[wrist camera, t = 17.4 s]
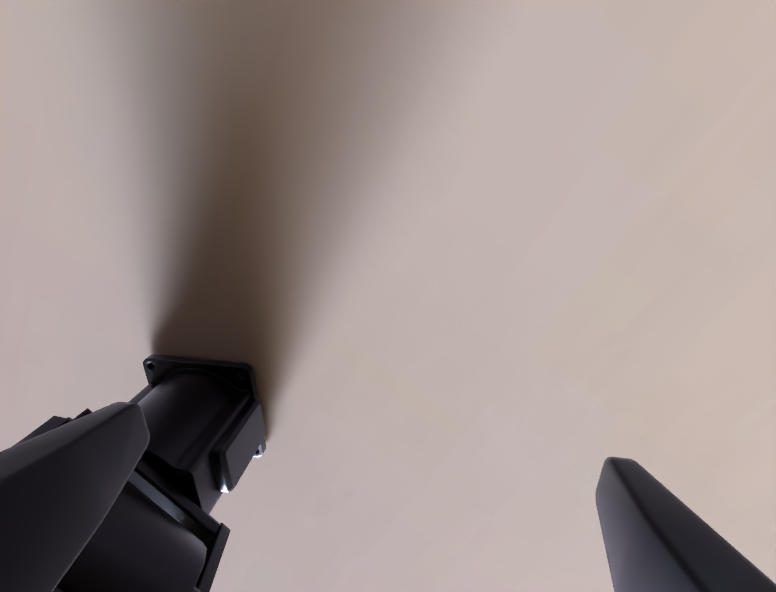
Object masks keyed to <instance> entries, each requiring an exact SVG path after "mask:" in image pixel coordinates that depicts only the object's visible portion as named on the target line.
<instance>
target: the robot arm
mask: <svg viewBox="0 0 776 592" xmlns="http://www.w3.org/2000/svg"><path fill="white" fill-rule="evenodd" d="M143 366H144V369H145V373H146V376H147V380H148V383H149V385H148V386H147V387H146V388H144V389H143V390H142V391H141V392H140V393H139V394H138V395H136V396H135V397H134V398H133V399H132V400H131V401H129V402H128V403H127V402H117V403H114V404H111V405H109V406H107V407H104V408H102V409H100V410H97V411H95V412H92V411H90V410H89V409H88V408H87V409H86V410H85V411H83V412H82V413H81V414H79V415H78V416H77V417H76V418H74V419H71V418H69V417H68V418H62V417H57V416H53V417H52V418H51V419H49V420H48V421H47V422H45V423H44V424H43V425H41V426H40V427H39V428H37V429H36V430H35V431H33V432H32V433H31V434H29V435H28V436H26V437H25V438H24V439H22V440H21V441H19V442H18V443H17V444H15V445H14V446H12V447H11V448H9V449H6V450H4V451H2V452H0V592H209V591H210V588H211V585H212V583H213V580H214V577H215V574H216V571H217V568H218V565H219V562H220V559H221V556H222V553H223V551H224V548H225V545H226V542H227V539H228V536H229V533H230V529H229V528H228V527H226V526H225V525H224V524H223V523H220V524H219V523H218V522H217V521H216V520H215V519H214V518H212V517H211V516H210V515H209V514H210V512H211V510H212V509H213V507H214V506H215V504H216V502H217V501H218V499H219V498H220V496H221V494H222V493H223V492H230V491H231V490H233V489H234V487H235V486H236V484H237V482H238V481H239V479H240V477H241V476H242V474H243V472H244V471H245V469H246V467H247V466H248V464H249V462H250V461H251V459H252V457H260V456H262V454H263V453H264V451H265V449H266V444H265V438H264V437H265V435H266V432H265V426H264V420H263V413H262V407H261V402H260V401H259V399H258V394H257V388H256V382H255V376H254V371H253V368H252V367H251V366H250V365H248V364H246V363H238V362H227V361H216V360H205V359H194V358H183V357H172V356H161V355H150V356H149V357H148V358H146V359H145V360H144V362H143ZM242 371H243V372H245V373H246V374H243V373H242ZM596 505H597V510H598V515H599V520H600V525H601V529H602V534H603V539H604V544H605V549H606V553H607V558H608V563H609V568H610V573H611V577H612V582H613V587H614V591H615V592H776V584H775V583H774V582H773V581H772V580H770V579H769V578H768V577H767V576H766V575H765V574H764V573H762V572H761V571H760V570H759V569H758V568H757V567H756V566H754V565H753V564H752V563H751V562H750V561H749V560H748V559H746V558H745V557H744V556H743V555H742V554H741V553H740V552H738V551H737V550H736V549H735V548H734V547H733V546H732V545H730V544H729V543H728V542H727V541H726V540H725V539H724V538H723V537H721V536H720V535H719V534H718V533H717V532H716V531H715V530H713V529H712V528H711V527H710V526H709V525H708V524H707V523H705V522H704V521H703V520H702V519H701V518H700V517H699V516H697V515H696V514H695V513H694V512H693V511H692V510H691V509H689V508H688V507H687V506H686V505H685V504H684V503H683V502H682V501H680V500H679V499H678V498H677V497H676V496H675V495H674V494H672V493H671V492H670V491H669V490H668V489H667V488H666V487H664V486H663V485H662V484H661V483H660V482H659V481H658V480H656V479H655V478H654V477H653V476H652V475H651V474H650V473H648V472H647V471H646V470H645V469H644V468H643V467H642V466H640V465H639V464H638V463H637V462H636V461H634V460H632V459H627V458H618V457H608V458H607V459H606V460H605V462H604V464H603V468H602V471H601V475H600V478H599V482H598V485H597V489H596Z"/></svg>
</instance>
